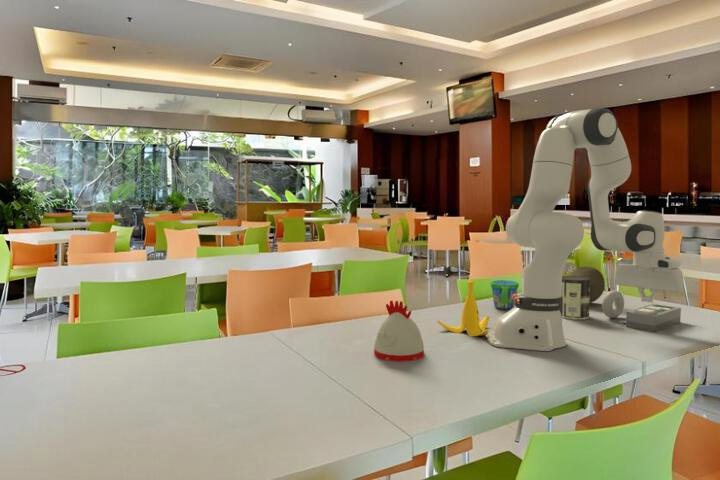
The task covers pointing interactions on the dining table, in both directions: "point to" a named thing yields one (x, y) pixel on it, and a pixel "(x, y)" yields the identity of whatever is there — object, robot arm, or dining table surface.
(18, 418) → the dining table surface
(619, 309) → the donut
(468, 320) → the banana peel
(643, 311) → the key near
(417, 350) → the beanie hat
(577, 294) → the coffee can
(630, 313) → the keypad
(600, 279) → the coconut
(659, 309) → the key mid
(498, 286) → the snack cup
